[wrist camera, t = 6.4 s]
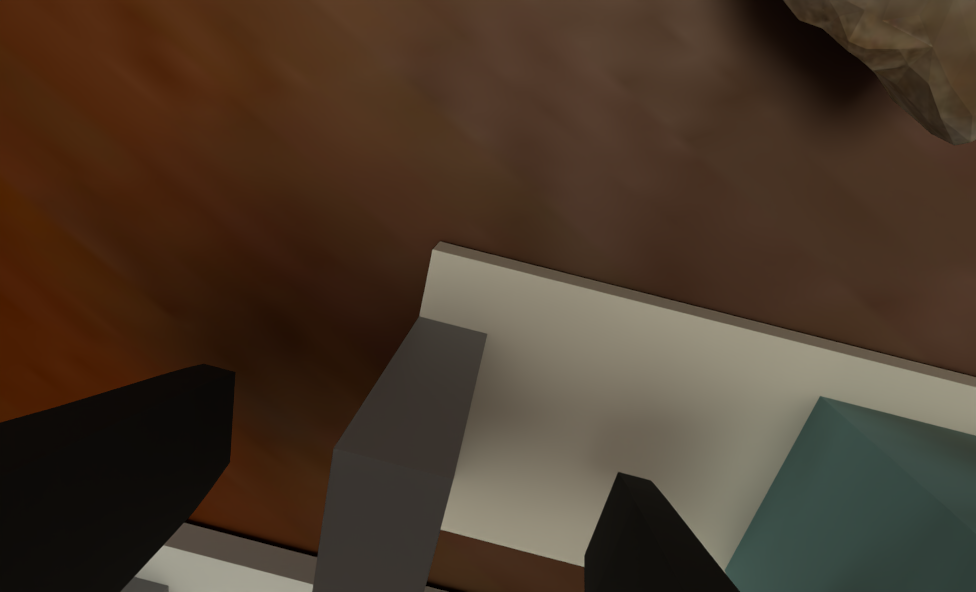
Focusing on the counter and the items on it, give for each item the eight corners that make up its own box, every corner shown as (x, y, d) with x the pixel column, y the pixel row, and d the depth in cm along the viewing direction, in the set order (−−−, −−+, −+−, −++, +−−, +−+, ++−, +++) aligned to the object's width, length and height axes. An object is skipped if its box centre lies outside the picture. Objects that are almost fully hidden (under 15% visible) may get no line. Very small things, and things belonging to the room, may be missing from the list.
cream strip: (1069, 400, 10) (1608, 660, 5) (900, 623, 12) (1153, 956, 7) (439, 241, 10) (349, 338, 5) (388, 490, 12) (291, 726, 7)
